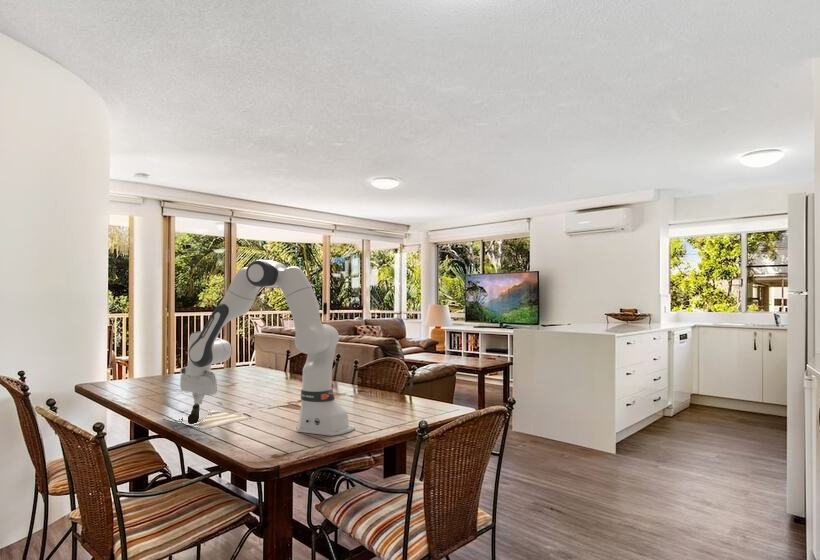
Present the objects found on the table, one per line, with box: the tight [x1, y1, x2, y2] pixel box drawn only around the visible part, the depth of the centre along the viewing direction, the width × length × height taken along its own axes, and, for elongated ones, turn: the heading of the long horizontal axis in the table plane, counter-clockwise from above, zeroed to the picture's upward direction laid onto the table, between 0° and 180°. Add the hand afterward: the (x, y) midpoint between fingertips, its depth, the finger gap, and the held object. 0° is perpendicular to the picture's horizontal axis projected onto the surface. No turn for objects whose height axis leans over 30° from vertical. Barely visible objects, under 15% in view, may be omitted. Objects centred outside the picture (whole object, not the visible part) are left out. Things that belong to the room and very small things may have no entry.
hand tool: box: [188, 404, 201, 424], centre depth 199 cm, size 19×4×5 cm, turn 17°
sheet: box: [179, 409, 252, 430], centre depth 199 cm, size 28×22×1 cm
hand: (198, 403), depth 203 cm, fingers closed
